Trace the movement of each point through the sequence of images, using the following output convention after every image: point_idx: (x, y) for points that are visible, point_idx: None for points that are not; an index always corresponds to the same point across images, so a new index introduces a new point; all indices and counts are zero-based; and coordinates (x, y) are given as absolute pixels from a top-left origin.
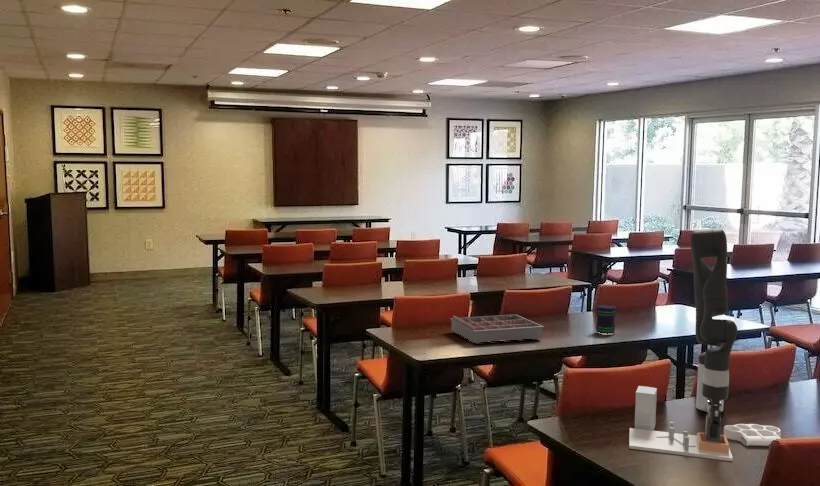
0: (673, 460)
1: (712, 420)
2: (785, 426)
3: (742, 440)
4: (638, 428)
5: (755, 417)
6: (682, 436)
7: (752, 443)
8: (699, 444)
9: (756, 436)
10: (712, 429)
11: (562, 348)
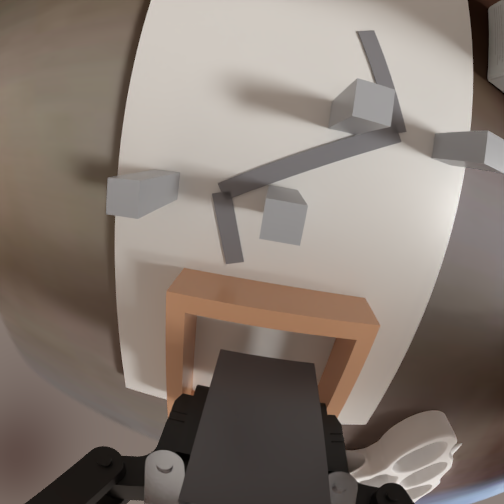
0: (60, 101)
1: (54, 484)
2: (437, 496)
3: (358, 456)
4: (490, 18)
5: (500, 456)
6: (414, 219)
7: None
8: (173, 285)
9: None
10: (162, 437)
11: None
